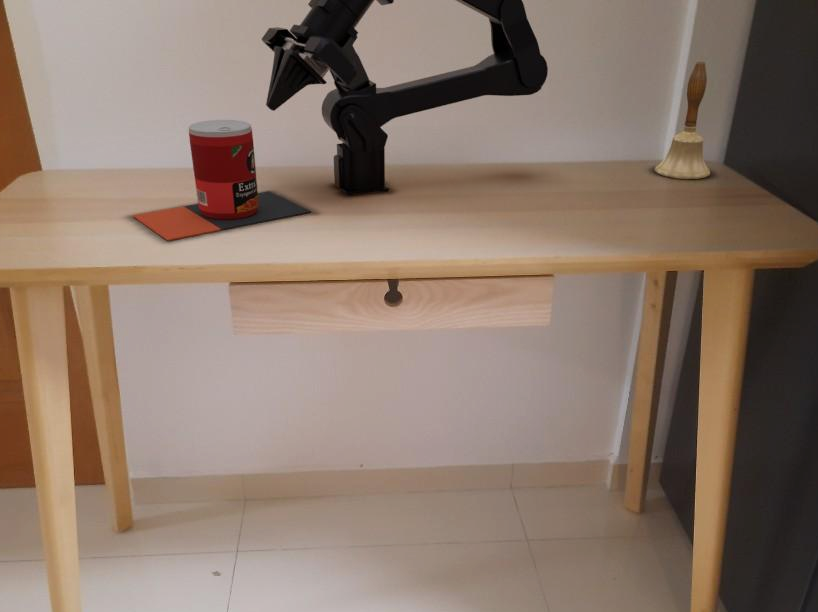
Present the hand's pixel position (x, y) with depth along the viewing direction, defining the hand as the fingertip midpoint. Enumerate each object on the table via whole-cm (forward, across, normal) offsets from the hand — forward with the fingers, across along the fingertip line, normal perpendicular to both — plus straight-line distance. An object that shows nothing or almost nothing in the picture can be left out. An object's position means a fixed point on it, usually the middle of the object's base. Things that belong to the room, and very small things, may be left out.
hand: (269, 108), depth 102 cm
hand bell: (-33, -16, -53) cm, 65 cm away
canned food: (+14, -2, -3) cm, 15 cm away
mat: (+12, -2, -5) cm, 14 cm away
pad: (+19, -3, +3) cm, 20 cm away
